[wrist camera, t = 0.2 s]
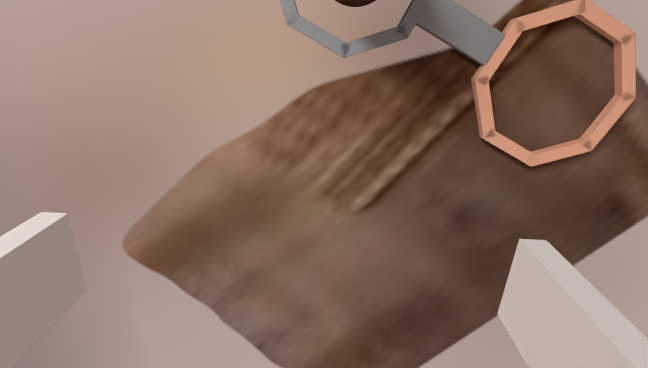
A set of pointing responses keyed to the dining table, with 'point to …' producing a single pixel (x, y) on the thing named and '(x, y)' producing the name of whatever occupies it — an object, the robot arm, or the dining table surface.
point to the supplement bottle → (355, 2)
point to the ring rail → (499, 59)
